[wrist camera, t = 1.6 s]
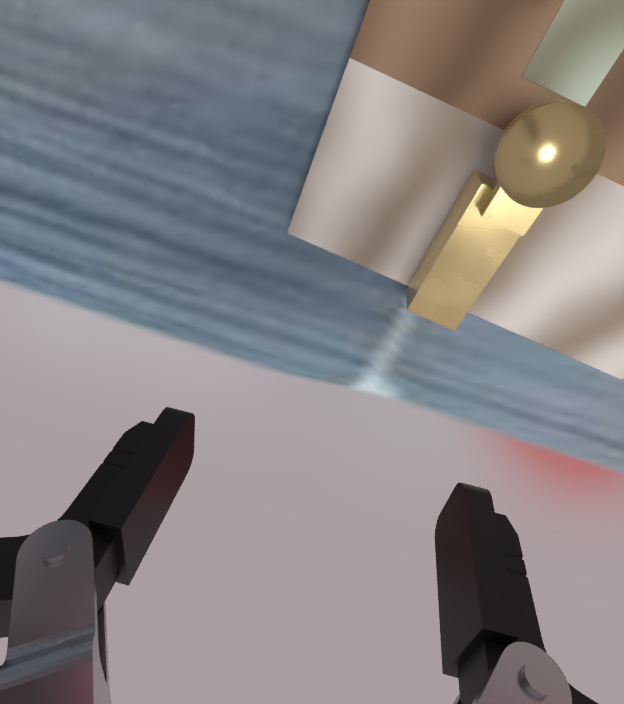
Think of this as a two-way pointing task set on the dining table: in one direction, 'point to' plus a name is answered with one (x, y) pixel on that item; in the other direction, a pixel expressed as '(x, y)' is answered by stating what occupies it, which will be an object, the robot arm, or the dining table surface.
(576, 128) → the latch bar
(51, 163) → the dining table surface
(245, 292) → the dining table surface
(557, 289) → the door board
